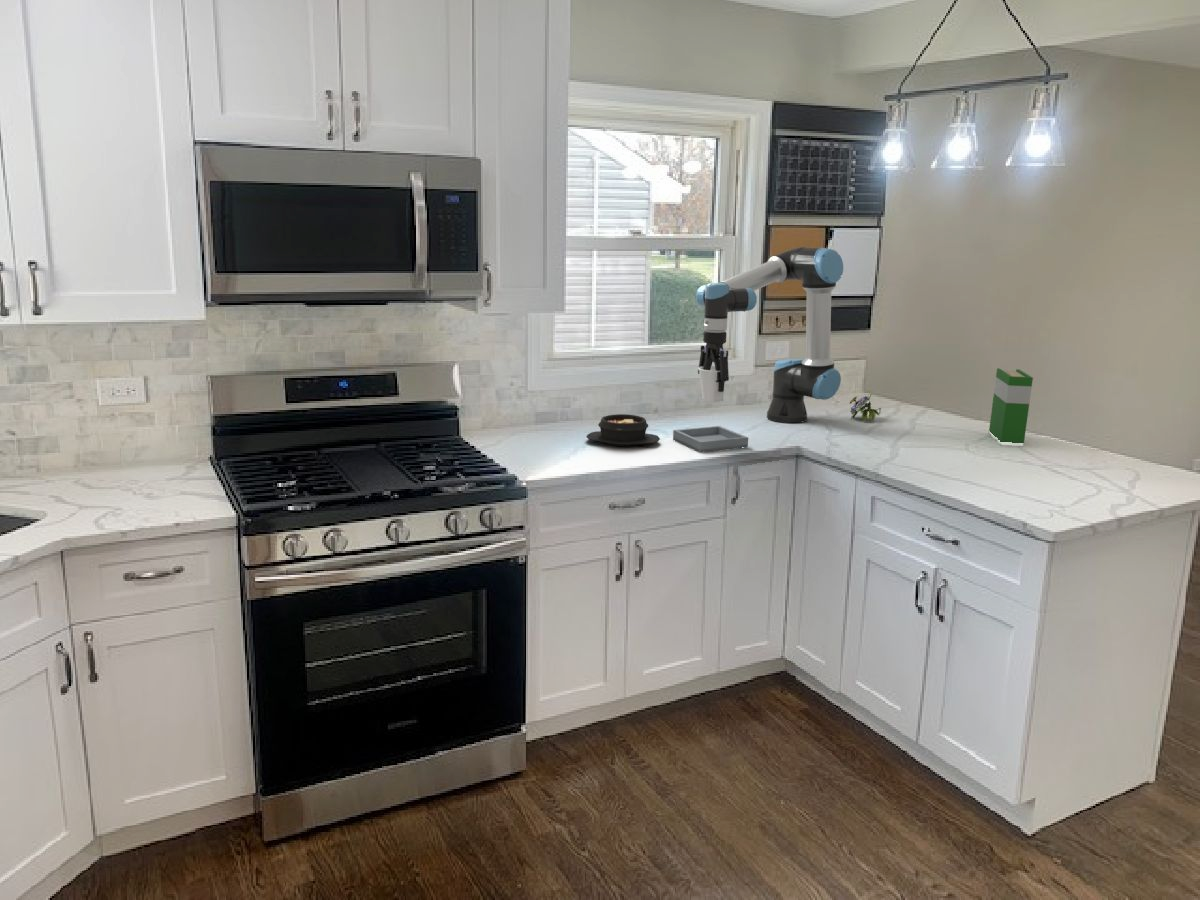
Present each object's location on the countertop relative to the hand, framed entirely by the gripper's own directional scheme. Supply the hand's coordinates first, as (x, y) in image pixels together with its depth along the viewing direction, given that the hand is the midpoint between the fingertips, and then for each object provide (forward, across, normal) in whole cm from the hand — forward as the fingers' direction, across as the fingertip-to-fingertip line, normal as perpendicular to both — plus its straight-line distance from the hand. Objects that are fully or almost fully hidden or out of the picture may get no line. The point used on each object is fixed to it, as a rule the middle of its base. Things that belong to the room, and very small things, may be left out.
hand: (711, 398), depth 301 cm
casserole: (+16, -12, -27) cm, 34 cm away
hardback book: (+16, +33, +101) cm, 108 cm away
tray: (+16, 0, 0) cm, 16 cm away
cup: (+1, 0, 0) cm, 1 cm away
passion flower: (+16, -12, +76) cm, 79 cm away
